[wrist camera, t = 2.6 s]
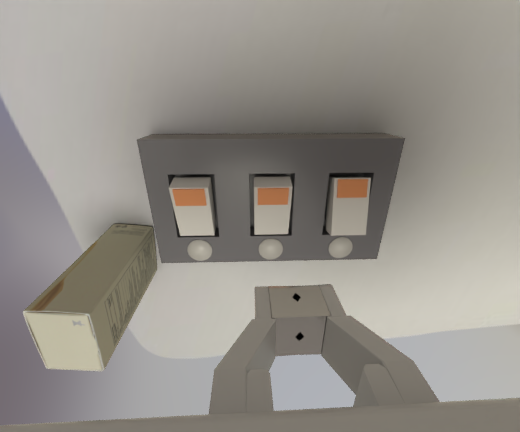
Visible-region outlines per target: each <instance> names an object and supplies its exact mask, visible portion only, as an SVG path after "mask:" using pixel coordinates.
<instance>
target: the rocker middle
mask: <svg viewBox="0 0 520 432" xmlns="http://www.w3.org/2000/svg"><path fill="white" fill-rule="evenodd" d="M292 188H293V186H292V183H291V179H290V176H287V177H254V233H255V235H265V234H288V229H289V219H290V209H291V198H292Z"/></svg>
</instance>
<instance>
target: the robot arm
mask: <svg viewBox="0 0 520 432" xmlns="http://www.w3.org/2000/svg"><path fill="white" fill-rule="evenodd" d="M298 354H299V355H304V354H322V357H323V358H324V359H325V360H326V361H327V362H328V364H329V365H330V366H331V367H332V368H333V369H334V370H335V372H336V373H337V374H338V375H339V376H340V377H341V378H342V379H343V381H344V382H345V383H346V384H347V385H348V387H349V388H350V389H351V390H352V391H353V392H354V393H355V394H356V398H355V402H354V405H353V407H342V408H323V409H303V410H284V411H273V400H272V389H271V379H270V373H269V370H270V368H271V365H272V363H273V361H274V359H275V356H285V355H298ZM0 432H520V398H507V399H488V400H469V401H450V402H439V400H438V398H437V397H436V395H435V394H434V392H433V391H432V390H431V388H430V386H429V385H428V383H427V381H426V380H425V378H424V377H423V375H422V374H421V372H420V370H419V369H418V367H417V366H416V364H415V363H414V361H413V360H411V359H410V358H408V357H407V356H406V355H404V354H403V353H402V352H400V351H399V350H397V349H396V348H395V347H393V346H392V345H390V344H389V343H388V342H386V341H385V340H384V339H382V338H381V337H379V336H378V335H377V334H375V333H374V332H372V331H371V330H370V329H368V328H367V327H365V326H364V325H363V324H361V323H360V322H359V321H357V320H356V319H354V318H353V317H352V316H346V313H345V311H344V309H343V307H342V305H341V303H340V301H339V299H338V297H337V295H336V292H335V290H334V288H333V286H332V285H331V284H325V285H310V286H268V287H255V319H252V320H251V322H250V323H249V324H248V326H247V327H246V328H245V330H244V331H243V332H242V334H241V335H240V336H239V338H238V339H237V340H236V342H235V343H234V344H233V346H232V347H231V348H230V350H229V351H228V352H227V354H226V355H225V356H224V358H223V359H222V360H221V362H220V363H219V364H218V366H217V367H216V368H215V370H214V378H213V385H212V392H211V401H210V409H209V415H190V416H171V417H153V418H135V419H115V420H96V421H78V422H59V423H41V424H22V425H3V426H0Z"/></svg>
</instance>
